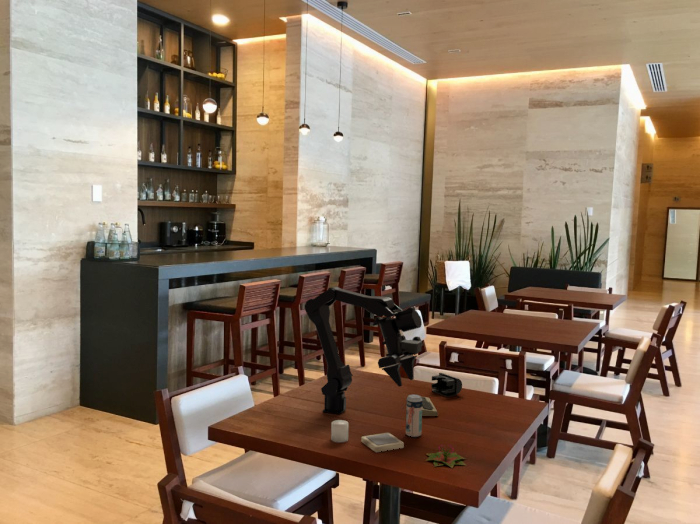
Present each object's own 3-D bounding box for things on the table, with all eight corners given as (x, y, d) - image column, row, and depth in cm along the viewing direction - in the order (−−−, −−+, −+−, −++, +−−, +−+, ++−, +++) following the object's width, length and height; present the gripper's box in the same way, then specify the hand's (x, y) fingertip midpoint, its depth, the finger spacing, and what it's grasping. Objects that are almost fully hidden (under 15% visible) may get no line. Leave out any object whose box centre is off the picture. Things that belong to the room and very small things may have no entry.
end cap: (462, 395, 228) (462, 377, 227) (447, 398, 224) (448, 379, 223) (444, 388, 236) (445, 371, 236) (430, 391, 232) (430, 373, 232)
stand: (361, 441, 178) (361, 436, 178) (388, 437, 182) (388, 432, 182) (376, 452, 170) (376, 446, 170) (403, 447, 174) (403, 442, 173)
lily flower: (459, 452, 172) (460, 436, 172) (474, 469, 160) (474, 452, 160) (418, 454, 170) (419, 438, 170) (430, 471, 159) (430, 454, 158)
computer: (438, 418, 202) (438, 408, 202) (414, 418, 201) (414, 408, 201) (429, 403, 218) (429, 394, 217) (407, 403, 217) (407, 394, 217)
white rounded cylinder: (328, 441, 178) (329, 424, 177) (334, 435, 183) (334, 419, 182) (345, 443, 176) (345, 426, 176) (350, 437, 181) (350, 421, 181)
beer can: (404, 432, 186) (405, 394, 185) (419, 432, 187) (420, 393, 186) (407, 438, 181) (408, 398, 181) (422, 437, 182) (423, 398, 181)
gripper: (402, 333, 182) (417, 384, 181) (425, 325, 199) (439, 371, 197) (370, 342, 188) (385, 391, 186) (395, 333, 204) (409, 378, 202)
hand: (406, 382), depth 193 cm, fingers open, 9 cm apart
